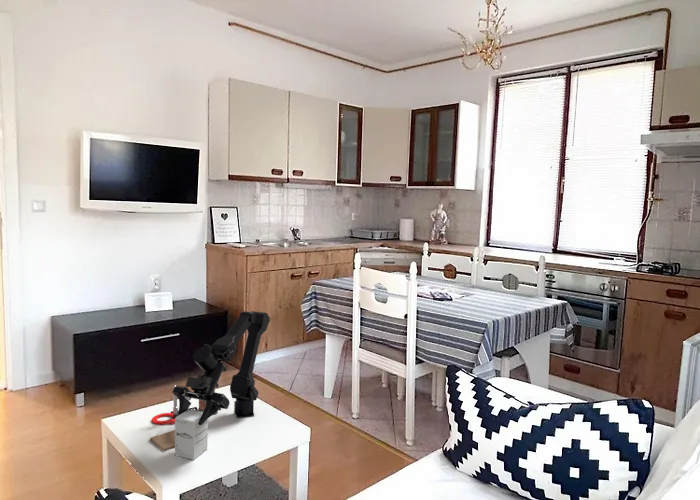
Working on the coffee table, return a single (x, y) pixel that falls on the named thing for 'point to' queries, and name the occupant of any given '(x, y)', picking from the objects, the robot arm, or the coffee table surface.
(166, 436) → the walnut plate
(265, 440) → the coffee table surface
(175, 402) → the tow hook
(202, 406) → the red-brown boxy piece
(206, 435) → the supplement box
